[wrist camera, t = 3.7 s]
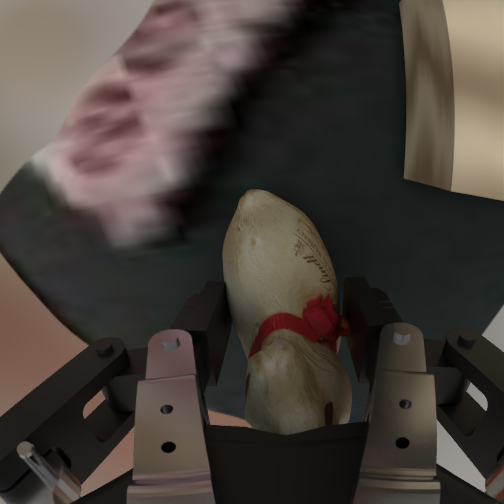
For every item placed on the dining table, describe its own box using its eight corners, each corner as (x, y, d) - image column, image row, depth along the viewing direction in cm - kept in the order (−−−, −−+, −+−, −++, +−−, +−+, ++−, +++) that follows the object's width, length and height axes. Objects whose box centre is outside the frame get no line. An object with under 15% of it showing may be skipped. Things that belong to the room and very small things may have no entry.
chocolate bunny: (218, 336, 16) (164, 512, 6) (232, 184, 13) (116, 286, 4) (322, 350, 15) (344, 528, 6) (358, 202, 13) (500, 331, 3)
